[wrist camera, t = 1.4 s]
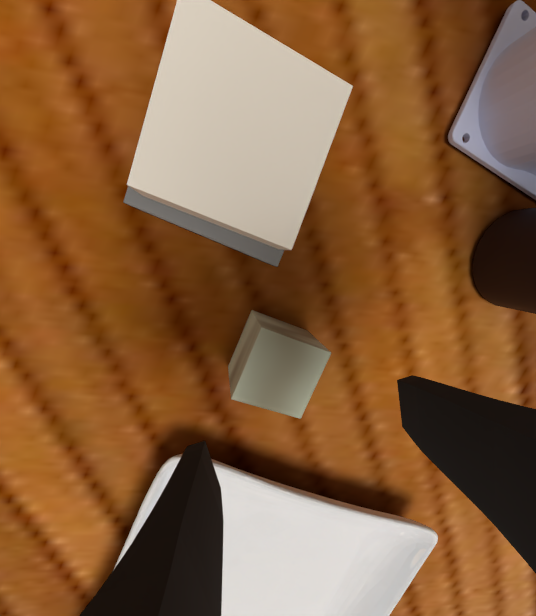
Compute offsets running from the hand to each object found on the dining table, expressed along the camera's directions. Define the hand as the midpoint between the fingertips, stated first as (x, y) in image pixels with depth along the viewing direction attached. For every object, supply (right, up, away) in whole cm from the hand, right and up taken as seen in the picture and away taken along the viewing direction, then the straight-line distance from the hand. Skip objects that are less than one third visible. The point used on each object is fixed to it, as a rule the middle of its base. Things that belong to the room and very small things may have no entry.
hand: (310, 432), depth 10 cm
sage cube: (-2, +2, +8) cm, 8 cm away
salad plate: (-3, -17, +12) cm, 21 cm away
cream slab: (-3, +12, +3) cm, 13 cm away
